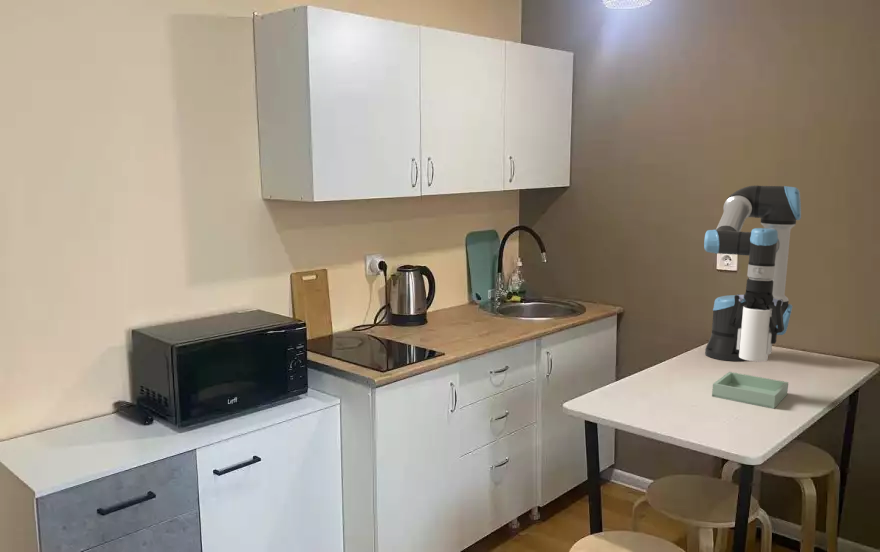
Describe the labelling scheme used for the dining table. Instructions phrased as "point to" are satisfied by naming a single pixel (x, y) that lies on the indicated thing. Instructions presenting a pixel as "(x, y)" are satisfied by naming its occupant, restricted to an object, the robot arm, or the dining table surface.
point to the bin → (750, 389)
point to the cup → (754, 334)
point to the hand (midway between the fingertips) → (753, 351)
